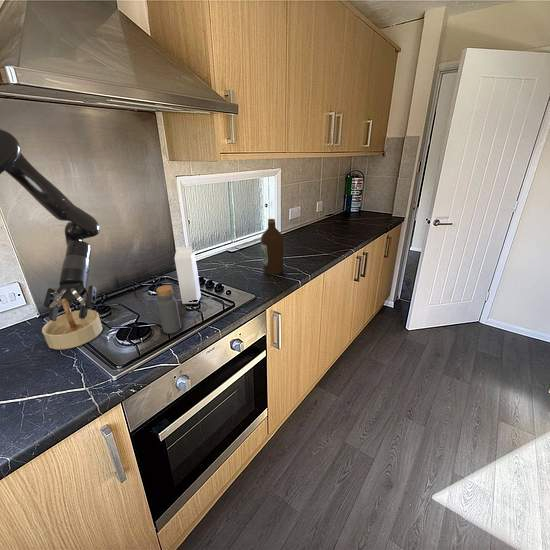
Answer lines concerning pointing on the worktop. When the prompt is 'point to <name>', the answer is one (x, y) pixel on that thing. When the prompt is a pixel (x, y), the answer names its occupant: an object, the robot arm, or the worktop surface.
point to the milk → (187, 275)
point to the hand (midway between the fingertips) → (67, 319)
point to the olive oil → (272, 249)
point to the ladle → (70, 318)
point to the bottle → (168, 309)
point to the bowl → (61, 340)
